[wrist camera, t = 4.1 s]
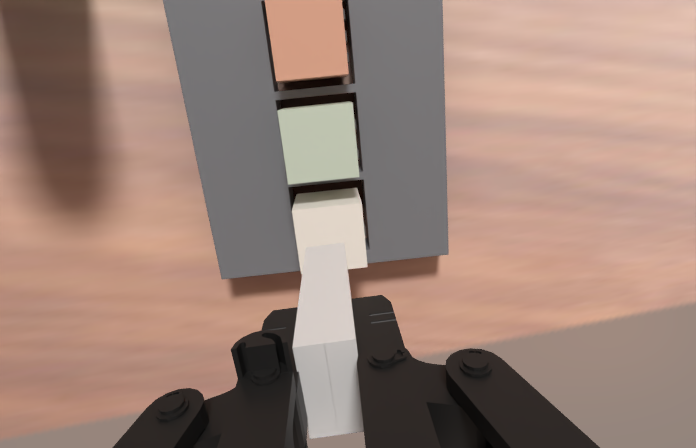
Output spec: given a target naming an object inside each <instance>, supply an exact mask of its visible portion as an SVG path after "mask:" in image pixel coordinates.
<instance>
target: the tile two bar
mask: <svg viewBox="0 0 696 448" xmlns="http://www.w3.org/2000/svg"><path fill="white" fill-rule="evenodd" d="M277 112H278V119H279V126H280V132H281V139H282V146H283V153H284V160H285V167H286V174H287V181H288V185H289V184H299V183H308V182H317V181H327V180H336V179H346V178H355V177H359V166H358V158H359V149H358V147H357V144H356V133H355V129H357V126H356V120H355V119H354V111H353V103H352V102H349V101H347V102H337V103H327V104H318V105H308V106H298V107H289V108H283V109H280V110H277Z"/></svg>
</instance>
